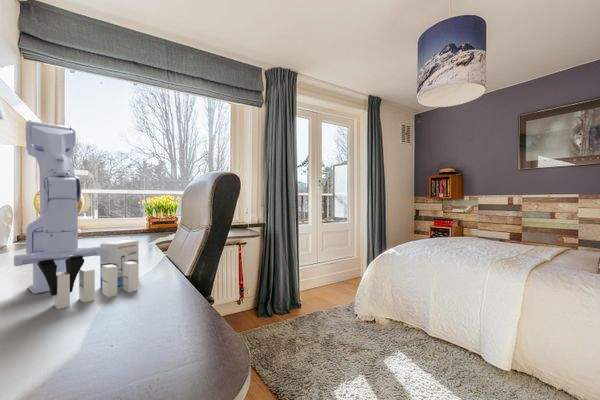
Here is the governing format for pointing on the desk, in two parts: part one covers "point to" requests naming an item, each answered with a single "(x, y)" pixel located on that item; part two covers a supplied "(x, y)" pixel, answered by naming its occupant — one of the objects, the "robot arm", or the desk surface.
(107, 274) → the domino
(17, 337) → the desk surface
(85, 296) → the domino
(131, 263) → the domino
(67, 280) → the domino
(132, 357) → the desk surface
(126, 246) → the ink box
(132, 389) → the desk surface
